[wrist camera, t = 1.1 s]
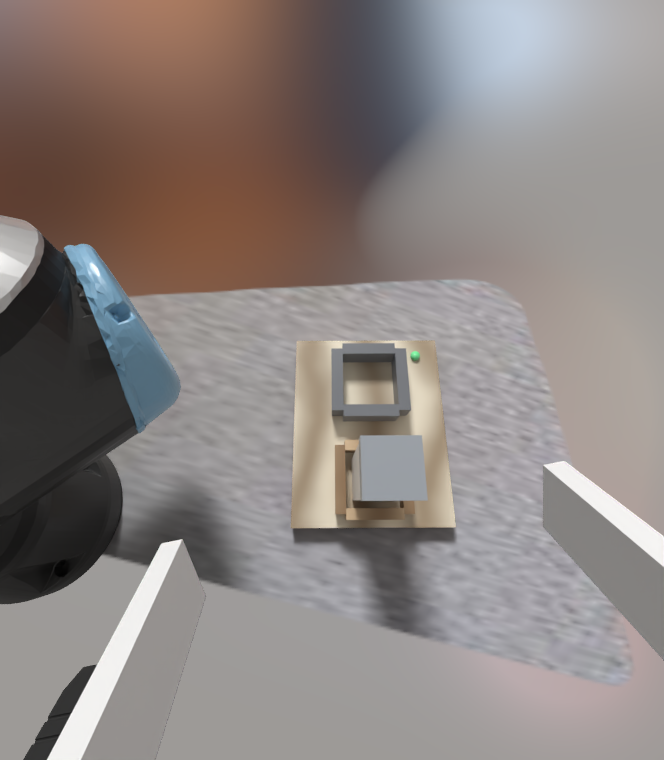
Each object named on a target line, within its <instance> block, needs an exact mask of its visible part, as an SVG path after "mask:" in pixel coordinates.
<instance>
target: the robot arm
mask: <svg viewBox="0 0 664 760" xmlns="http://www.w3.org/2000/svg"><path fill="white" fill-rule="evenodd" d="M180 387H181V386H180V380H179V377H178V375H177V373H176V371H175V370H174V368H173V366H172V364H171V363H170V361H169V360H168V358H167V356H166V355H165V353H164V352H163V350H162V348H161V347H160V345H159V344H158V342H157V341H156V339H155V337H154V336H153V334H152V333H151V331H150V330H149V328H148V327H147V325H146V324H145V322H144V321H143V319H142V318H141V316H140V315H139V313H138V312H137V310H136V309H135V307H134V306H133V304H132V303H131V301H130V299H129V298H128V296H127V295H126V294H125V292H124V291H123V289H122V288H121V286H120V285H119V283H118V282H117V280H116V279H115V277H114V276H113V274H112V273H111V272H110V270H109V269H108V267H107V266H106V265H105V263H104V262H103V261H102V260H101V258H100V257H99V256H98V254H97V253H96V251H95V250H94V249H93V248H92V247H91V246H89V245H86V244H79V245H77V246H73V245H68V246H66V247H65V248H64V251H63V253H61V252H60V251H58V250H57V249H56V248H55V247H53V245H52V244H51V243H50V242H49V241H48V240H47V239H46V238H45V237H44V236H43V235H42V234H41V233H40V232H39V231H38V230H37V229H36V228H35V227H33V226H32V225H30V224H29V223H28V222H26V221H24V220H20V219H15V218H10V217H5V216H0V604H12V603H20V602H25V601H29V600H32V599H35V598H39V597H42V596H45V595H48V594H51V593H53V592H56V591H58V590H60V589H62V588H64V587H66V586H68V585H69V584H71V583H73V582H74V581H75V580H77V579H78V578H79V577H81V576H82V575H83V574H84V573H85V572H87V570H89V568H91V567H92V566H93V565H94V563H95V562H96V561H97V560H98V558H99V557H100V556H101V555H102V553H103V552H104V550H105V549H106V547H107V546H108V544H109V542H110V540H111V538H112V536H113V534H114V532H115V529H116V526H117V523H118V520H119V516H120V511H121V502H122V492H121V484H120V480H119V476H118V473H117V471H116V469H115V467H114V465H113V463H112V462H111V460H110V459H109V458H108V457H107V455H106V454H107V453H109V452H110V451H112V450H113V449H115V448H116V447H118V446H119V445H121V444H122V443H124V442H125V441H127V440H128V439H130V438H131V437H133V436H134V435H136V434H137V433H141V432H142V431H143V430H145V427H146V425H148V424H149V423H150V422H151V421H153V420H154V419H155V418H157V417H158V416H159V415H160V414H162V413H163V412H164V411H166V410H167V409H168V408H169V407H171V406H172V405H173V404H174V402H175V401H176V399H177V398H178V395H179V392H180ZM543 527H544V528H545V529H546V531H547V532H548V533H549V534H550V535H551V536H552V537H553V538H554V539H555V541H556V542H557V543H558V544H559V545H560V546H561V547H562V548H563V549H564V551H565V552H566V553H567V554H568V555H569V556H570V557H571V558H572V559H573V560H574V562H575V563H576V564H577V565H578V566H579V567H580V568H581V569H582V570H583V572H584V573H585V574H586V575H587V576H588V577H589V578H590V579H591V580H592V581H593V583H594V584H595V585H596V586H597V587H598V588H599V589H600V590H601V591H602V593H603V594H604V595H605V596H606V597H607V598H608V599H609V600H610V601H611V603H612V604H613V605H614V606H615V607H616V608H617V609H618V610H619V611H620V612H621V614H622V615H623V616H624V617H625V618H626V619H627V620H628V621H629V622H630V624H631V625H632V626H633V627H634V628H635V629H636V630H637V631H638V632H639V634H640V635H641V636H642V637H643V638H644V639H645V640H646V641H647V642H648V643H649V645H650V646H651V647H652V648H653V649H654V650H655V651H656V652H657V653H658V654H659V656H660V657H661V658H662V659H663V660H664V536H663V535H661V534H660V533H658V532H657V531H656V530H655V529H653V528H652V527H651V526H649V525H648V524H647V523H645V522H644V521H643V520H641V519H640V518H639V517H638V516H636V515H635V514H634V513H632V512H631V511H630V510H628V509H627V508H626V507H624V506H623V505H621V504H620V503H619V502H618V501H616V500H615V499H614V498H612V497H611V496H610V495H608V494H607V493H606V492H604V491H603V490H602V489H600V488H599V487H598V486H597V485H595V484H594V483H593V482H591V481H590V480H589V479H587V478H586V477H585V476H583V475H582V474H581V473H579V472H578V471H577V470H576V469H574V468H573V467H572V466H570V465H569V464H568V463H566V462H565V461H561V462H556V463H552V464H547V465H543ZM205 597H206V595H205V592H204V590H203V588H202V585H201V583H200V580H199V578H198V575H197V573H196V571H195V568H194V566H193V563H192V561H191V558H190V556H189V554H188V551H187V549H186V546H185V544H184V541H183V539H181V540H176V541H171V542H166V543H161V545H160V547H159V549H158V551H157V553H156V555H155V557H154V558H153V560H152V562H151V564H150V566H149V568H148V570H147V572H146V574H145V576H144V577H143V579H142V581H141V583H140V585H139V587H138V589H137V591H136V593H135V594H134V596H133V598H132V600H131V602H130V604H129V606H128V608H127V610H126V612H125V613H124V616H123V617H122V619H121V621H120V623H119V625H118V627H117V628H116V630H115V632H114V634H113V636H112V638H111V640H110V642H109V643H108V645H107V647H106V649H105V651H104V653H103V655H102V657H101V659H100V661H99V662H98V664H97V665H92V666H87V667H83V668H82V669H81V671H80V672H79V673H78V674H77V675H76V676H75V678H74V679H73V680H72V681H71V682H70V683H69V685H68V686H67V687H66V688H65V689H64V690H63V692H62V694H61V696H60V697H59V699H58V701H57V703H56V704H55V706H54V708H53V709H52V711H51V713H50V715H49V716H48V721H47V722H45V723H44V725H43V727H42V728H41V730H40V732H39V734H38V735H37V737H36V739H35V740H36V741H35V744H34V745H32V746H31V748H30V749H29V751H28V753H27V754H26V756H25V758H24V760H155V759H156V756H157V753H158V749H159V746H160V743H161V740H162V736H163V733H164V730H165V727H166V723H167V720H168V717H169V714H170V711H171V707H172V704H173V701H174V698H175V694H176V691H177V688H178V685H179V682H180V678H181V675H182V672H183V669H184V665H185V662H186V659H187V655H188V653H189V649H190V646H191V643H192V639H193V636H194V633H195V630H196V627H197V623H198V620H199V617H200V614H201V610H202V607H203V604H204V601H205Z"/></svg>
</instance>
